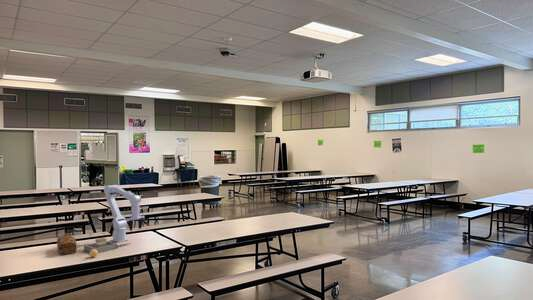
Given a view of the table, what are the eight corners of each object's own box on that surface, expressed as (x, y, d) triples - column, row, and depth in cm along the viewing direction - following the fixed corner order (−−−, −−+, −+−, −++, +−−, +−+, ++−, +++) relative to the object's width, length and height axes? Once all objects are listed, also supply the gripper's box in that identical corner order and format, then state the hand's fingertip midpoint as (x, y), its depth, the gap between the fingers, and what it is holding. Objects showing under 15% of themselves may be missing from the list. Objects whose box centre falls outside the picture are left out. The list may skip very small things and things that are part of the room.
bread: (56, 249, 245) (56, 235, 245) (73, 247, 251) (73, 233, 251) (58, 256, 229) (58, 241, 230) (77, 253, 236) (77, 238, 236)
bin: (84, 250, 242) (84, 245, 242) (106, 245, 255) (106, 240, 255) (94, 253, 233) (94, 248, 233) (116, 248, 247) (116, 243, 247)
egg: (87, 257, 226) (87, 249, 226) (95, 255, 230) (95, 247, 230) (91, 258, 223) (91, 250, 223) (99, 256, 227) (99, 249, 227)
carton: (95, 249, 243) (95, 239, 243) (102, 247, 248) (102, 237, 248) (99, 250, 240) (99, 240, 240) (106, 248, 245) (106, 238, 245)
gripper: (129, 213, 254) (130, 232, 254) (146, 210, 266) (147, 228, 266) (124, 212, 258) (124, 230, 258) (141, 209, 270) (141, 227, 270)
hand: (135, 229), depth 262 cm, fingers open, 7 cm apart
